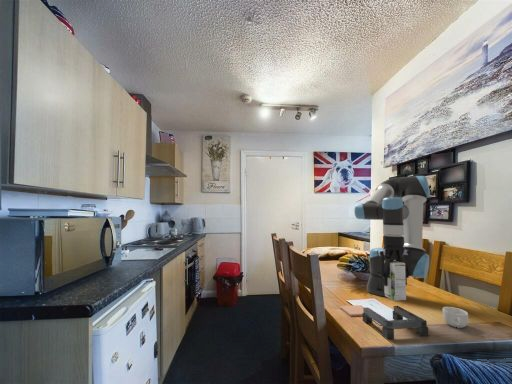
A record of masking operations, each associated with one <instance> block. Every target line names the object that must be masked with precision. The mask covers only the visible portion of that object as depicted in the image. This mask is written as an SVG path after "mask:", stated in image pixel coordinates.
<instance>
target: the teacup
mask: <svg viewBox="0 0 512 384" xmlns="http://www.w3.org/2000/svg"><path fill="white" fill-rule="evenodd" d="M442 317H443V319H444V322H445V323H446V324H447V325H449V326H450V327H452V328H456V327H457V328H458V329H463V328H465V327H467V326H468V324H469V313H468V311H466V310H464V309H461V308H458V307H454V306H443V307H442Z"/></svg>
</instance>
